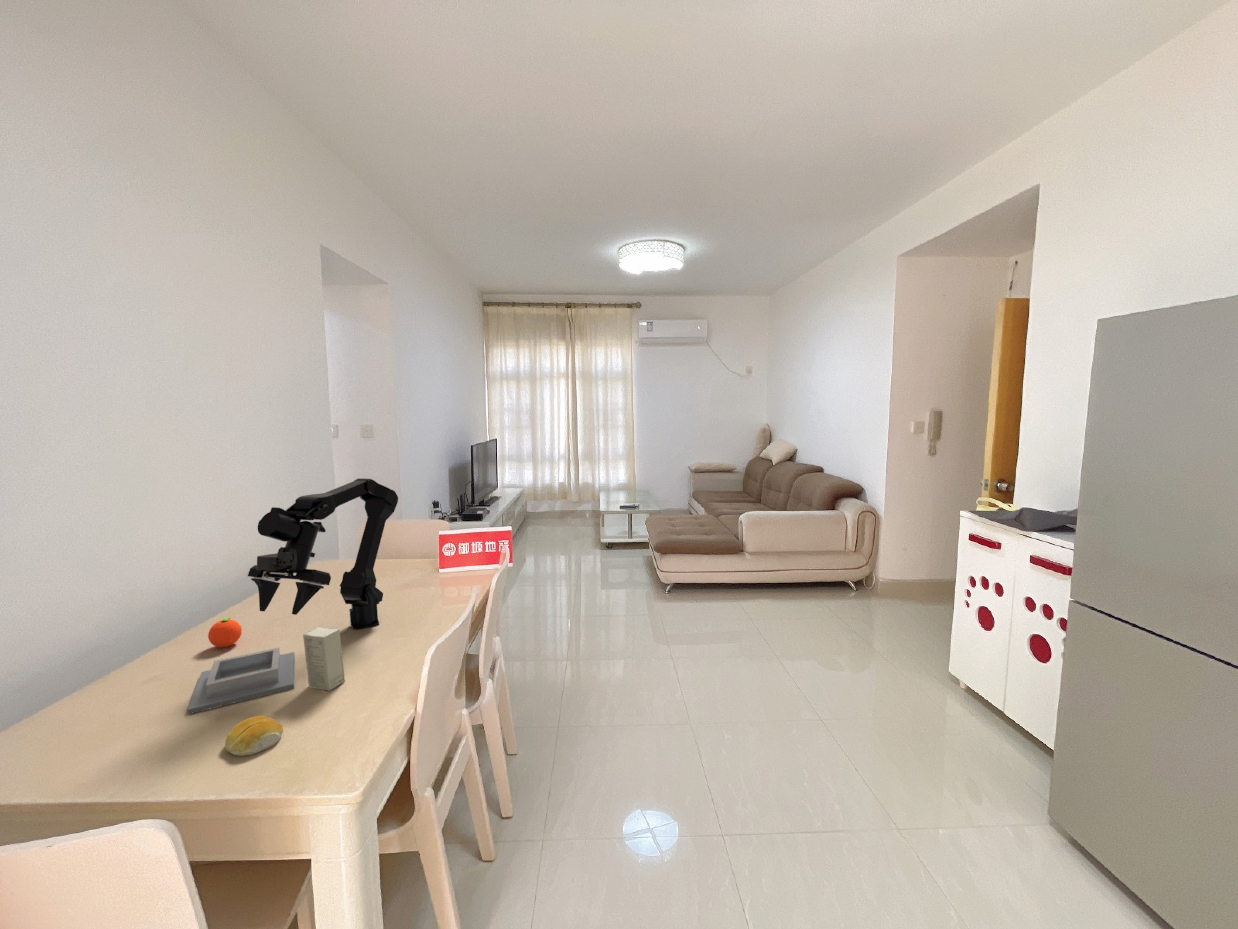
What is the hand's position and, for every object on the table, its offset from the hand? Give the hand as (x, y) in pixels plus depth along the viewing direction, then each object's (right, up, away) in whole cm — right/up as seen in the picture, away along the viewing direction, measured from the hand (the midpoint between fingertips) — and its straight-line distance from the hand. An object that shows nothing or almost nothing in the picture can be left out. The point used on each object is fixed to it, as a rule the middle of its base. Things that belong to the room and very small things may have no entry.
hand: (277, 612), depth 120 cm
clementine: (-23, -13, +15) cm, 30 cm away
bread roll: (+13, -17, -25) cm, 33 cm away
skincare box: (+14, -14, -6) cm, 21 cm away
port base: (-4, -14, -4) cm, 15 cm away
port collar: (-4, -14, -4) cm, 15 cm away
